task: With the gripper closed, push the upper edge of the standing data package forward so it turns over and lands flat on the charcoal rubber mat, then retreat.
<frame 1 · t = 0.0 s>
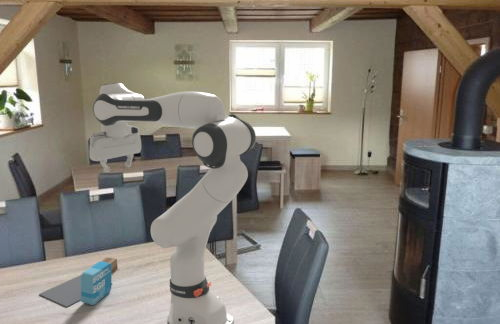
hand: (117, 169, 148), 48 cm above the table, fingers open, 8 cm apart
mat: (76, 289, 161), on the table
walnut cube: (109, 271, 176), on the table
data package: (96, 297, 155), on the table, touching mat
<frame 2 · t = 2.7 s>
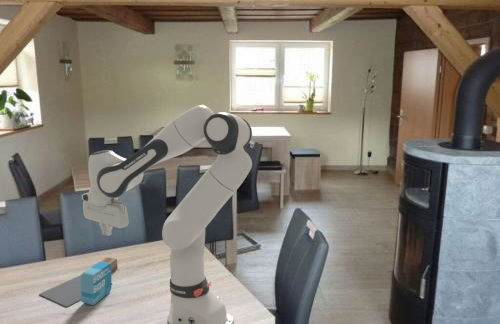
hand: (107, 234, 147), 26 cm above the table, fingers closed
nothing on the table moved.
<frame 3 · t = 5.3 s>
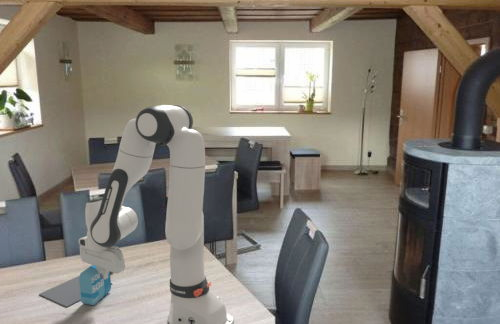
hand: (103, 278, 150), 9 cm above the table, fingers closed
data package: (96, 297, 155), on the table, touching gripper, mat
everything else where it was.
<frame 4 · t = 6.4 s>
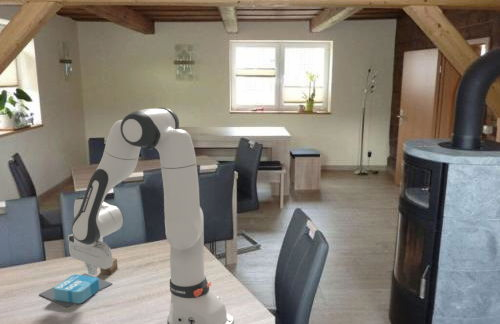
hand: (92, 273, 154), 9 cm above the table, fingers closed
data package: (91, 290, 155), point 3 cm above the table, touching mat
everything else where it was.
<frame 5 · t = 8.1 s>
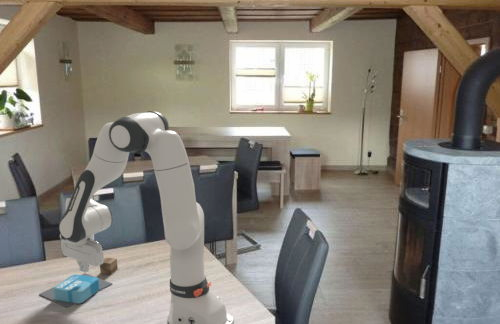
hand: (84, 271, 156), 9 cm above the table, fingers closed
nothing on the table moved.
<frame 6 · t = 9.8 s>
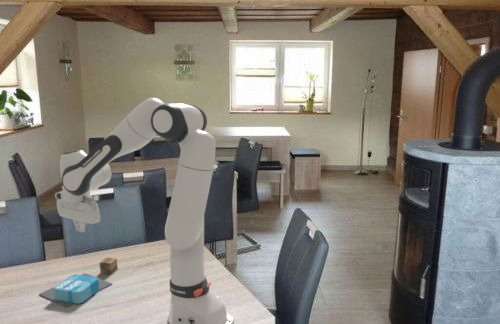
hand: (80, 231, 153), 25 cm above the table, fingers closed
nothing on the table moved.
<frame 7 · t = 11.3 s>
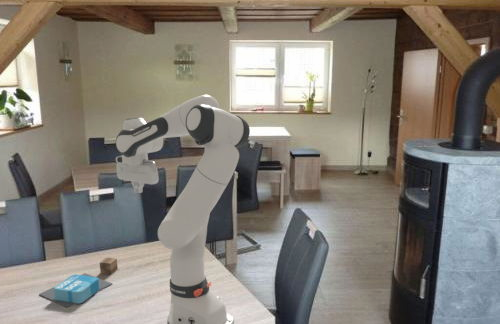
hand: (138, 192, 168), 35 cm above the table, fingers closed
nothing on the table moved.
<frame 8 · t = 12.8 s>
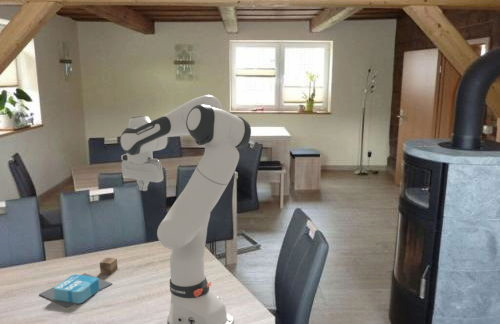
hand: (143, 190, 170), 35 cm above the table, fingers closed
nothing on the table moved.
at the end: data package tilted 90°; data package inside the target area (9.0 cm from its centre), point 2.7 cm above the table; the gripper is holding nothing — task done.
